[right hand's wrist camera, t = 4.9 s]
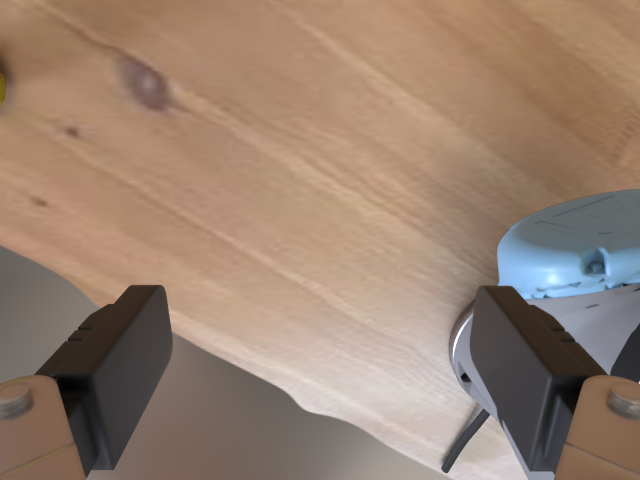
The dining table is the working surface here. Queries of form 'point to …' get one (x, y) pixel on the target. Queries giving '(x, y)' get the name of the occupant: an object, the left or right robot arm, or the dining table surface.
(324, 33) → the dining table surface
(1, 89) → the fruit
